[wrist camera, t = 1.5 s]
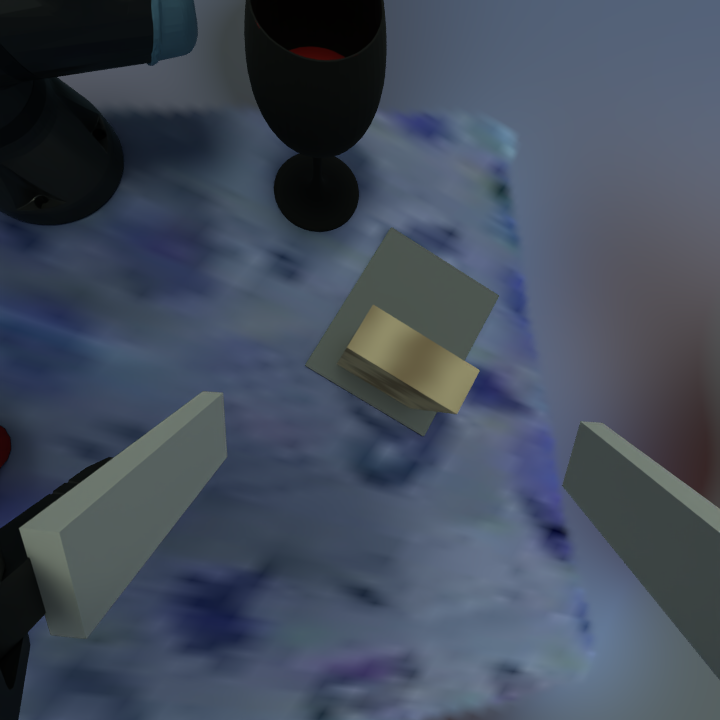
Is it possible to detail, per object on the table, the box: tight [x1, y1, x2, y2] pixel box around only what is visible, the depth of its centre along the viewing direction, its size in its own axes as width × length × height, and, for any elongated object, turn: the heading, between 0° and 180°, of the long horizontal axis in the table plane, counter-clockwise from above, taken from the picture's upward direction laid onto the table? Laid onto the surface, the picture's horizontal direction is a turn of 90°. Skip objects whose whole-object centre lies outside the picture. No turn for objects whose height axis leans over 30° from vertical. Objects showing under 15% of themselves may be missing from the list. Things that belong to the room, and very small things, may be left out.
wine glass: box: [244, 0, 386, 232], centre depth 31 cm, size 10×10×20 cm
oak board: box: [337, 305, 480, 414], centre depth 32 cm, size 10×4×13 cm, turn 60°
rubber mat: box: [305, 227, 499, 436], centre depth 40 cm, size 16×20×1 cm
